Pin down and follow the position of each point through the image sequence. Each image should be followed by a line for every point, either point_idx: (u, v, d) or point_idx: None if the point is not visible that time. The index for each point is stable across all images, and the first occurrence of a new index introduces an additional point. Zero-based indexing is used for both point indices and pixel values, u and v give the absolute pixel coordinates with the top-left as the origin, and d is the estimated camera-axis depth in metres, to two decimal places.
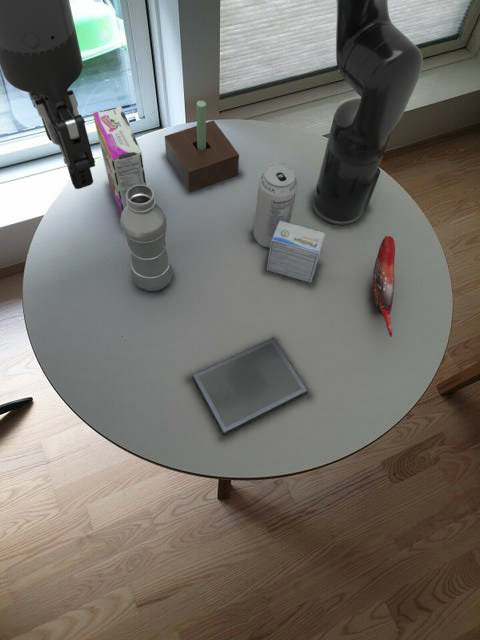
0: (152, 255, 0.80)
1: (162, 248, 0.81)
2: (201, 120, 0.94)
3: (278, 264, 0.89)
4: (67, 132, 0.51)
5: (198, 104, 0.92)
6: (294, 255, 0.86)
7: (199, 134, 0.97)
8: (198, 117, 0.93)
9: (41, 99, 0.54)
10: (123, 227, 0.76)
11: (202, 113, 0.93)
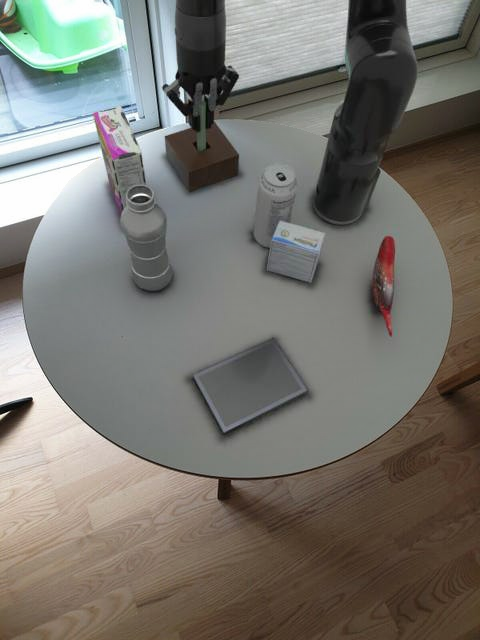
0: (152, 255, 0.80)
1: (162, 248, 0.81)
2: (201, 120, 0.94)
3: (278, 264, 0.89)
4: None
5: None
6: (294, 255, 0.86)
7: (199, 134, 0.97)
8: None
9: None
10: (123, 227, 0.76)
11: (202, 113, 0.93)
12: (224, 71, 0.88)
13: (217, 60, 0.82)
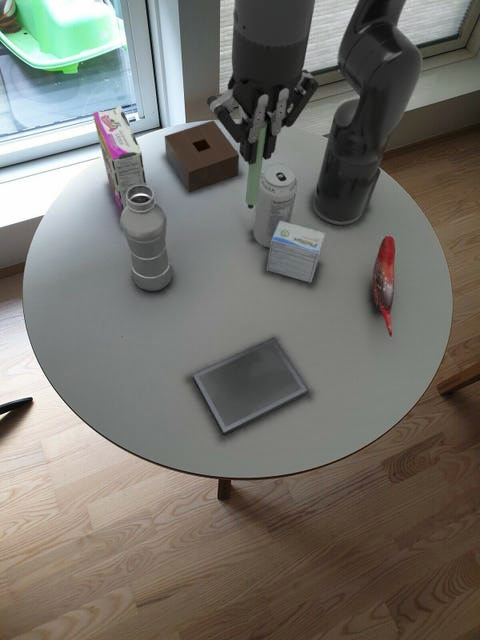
0: (152, 255, 0.80)
1: (162, 248, 0.81)
2: (258, 147, 0.65)
3: (278, 264, 0.89)
4: None
5: None
6: (294, 255, 0.86)
7: (253, 166, 0.68)
8: None
9: None
10: (123, 227, 0.76)
11: (260, 138, 0.64)
12: (299, 78, 0.59)
13: (296, 61, 0.53)
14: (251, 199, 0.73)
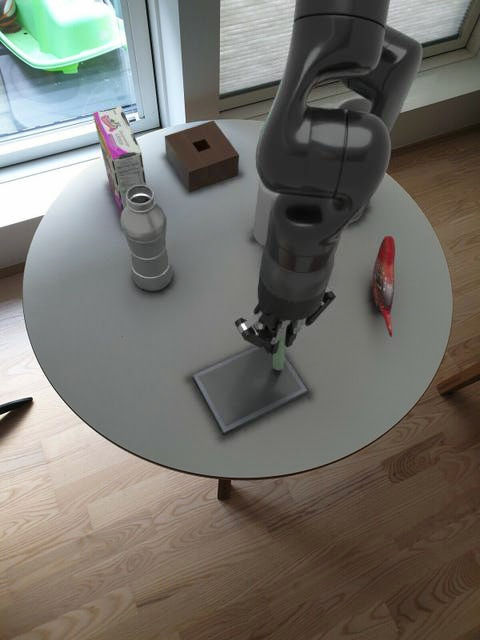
0: (152, 255, 0.80)
1: (162, 248, 0.81)
2: (280, 342, 0.71)
3: None
4: None
5: None
6: None
7: None
8: None
9: None
10: (123, 227, 0.76)
11: (281, 337, 0.70)
12: None
13: (317, 304, 0.59)
14: (278, 367, 0.79)
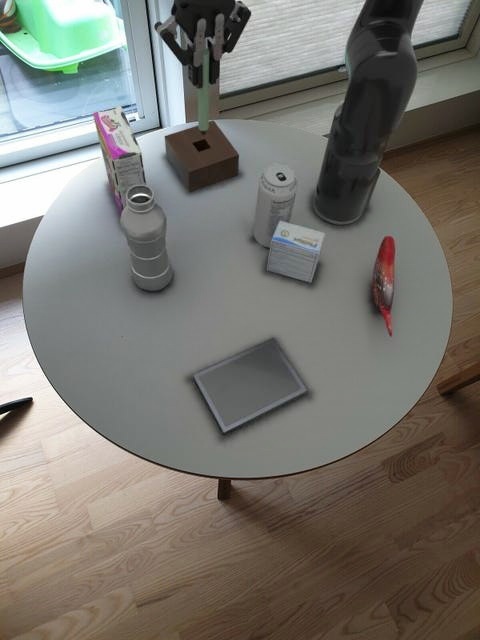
0: (152, 255, 0.80)
1: (162, 248, 0.81)
2: (203, 73, 0.75)
3: (278, 264, 0.89)
4: None
5: None
6: (294, 255, 0.86)
7: (201, 92, 0.78)
8: None
9: None
10: (123, 227, 0.76)
11: (205, 64, 0.74)
12: (233, 6, 0.69)
13: None
14: (203, 125, 0.83)
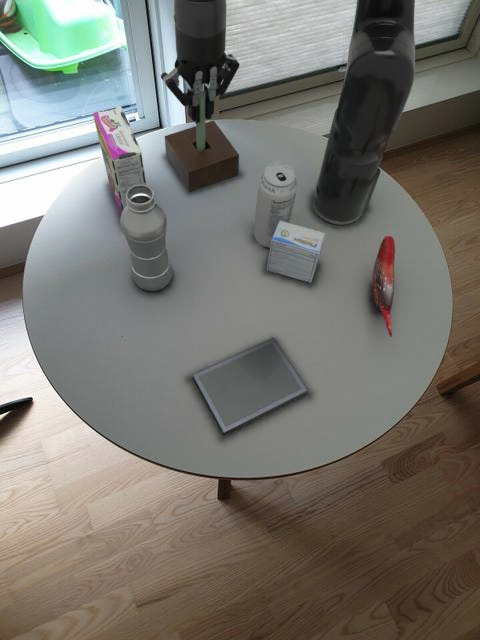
0: (152, 255, 0.80)
1: (162, 248, 0.81)
2: (200, 111, 0.92)
3: (278, 264, 0.89)
4: None
5: None
6: (294, 255, 0.86)
7: (198, 125, 0.95)
8: None
9: None
10: (123, 227, 0.76)
11: (202, 104, 0.91)
12: (224, 60, 0.86)
13: (217, 48, 0.80)
14: None
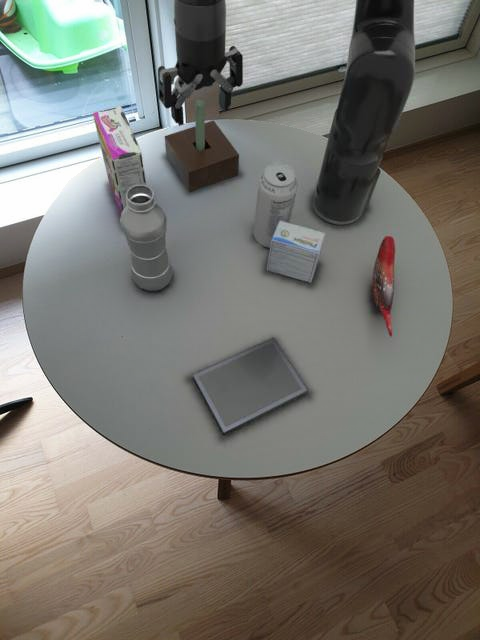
0: (152, 255, 0.80)
1: (162, 248, 0.81)
2: (200, 119, 0.94)
3: (278, 264, 0.89)
4: (159, 74, 0.84)
5: (197, 103, 0.92)
6: (294, 255, 0.86)
7: (198, 133, 0.97)
8: (197, 116, 0.94)
9: None
10: (123, 227, 0.76)
11: (201, 112, 0.93)
12: (224, 62, 0.86)
13: (217, 51, 0.81)
14: None
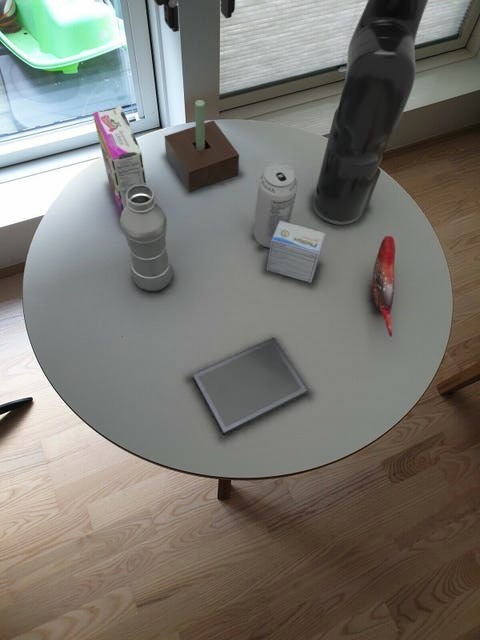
0: (152, 255, 0.80)
1: (162, 248, 0.81)
2: (200, 119, 0.94)
3: (278, 264, 0.89)
4: None
5: (197, 103, 0.92)
6: (294, 255, 0.86)
7: (198, 133, 0.97)
8: (197, 116, 0.94)
9: None
10: (123, 227, 0.76)
11: (201, 112, 0.93)
12: None
13: None
14: None
